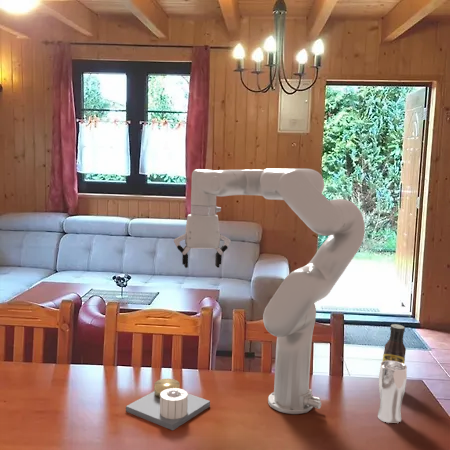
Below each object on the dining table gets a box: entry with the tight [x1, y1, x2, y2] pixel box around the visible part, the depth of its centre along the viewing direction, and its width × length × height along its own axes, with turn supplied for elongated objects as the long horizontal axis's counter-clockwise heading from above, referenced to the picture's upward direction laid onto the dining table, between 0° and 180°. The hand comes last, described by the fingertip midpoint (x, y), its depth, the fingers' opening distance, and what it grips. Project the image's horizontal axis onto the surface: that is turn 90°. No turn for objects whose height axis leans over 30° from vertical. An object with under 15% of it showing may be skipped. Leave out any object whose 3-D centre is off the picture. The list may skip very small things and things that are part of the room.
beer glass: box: [377, 360, 408, 424], centre depth 142 cm, size 7×7×15 cm
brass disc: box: [153, 378, 181, 399], centre depth 149 cm, size 7×7×3 cm
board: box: [125, 391, 211, 431], centre depth 144 cm, size 16×16×2 cm
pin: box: [169, 390, 178, 397], centre depth 139 cm, size 2×2×6 cm
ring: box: [160, 388, 189, 419], centre depth 139 cm, size 7×7×5 cm
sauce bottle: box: [382, 323, 407, 364], centre depth 159 cm, size 6×6×20 cm
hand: (201, 266), depth 162 cm, fingers open, 9 cm apart
